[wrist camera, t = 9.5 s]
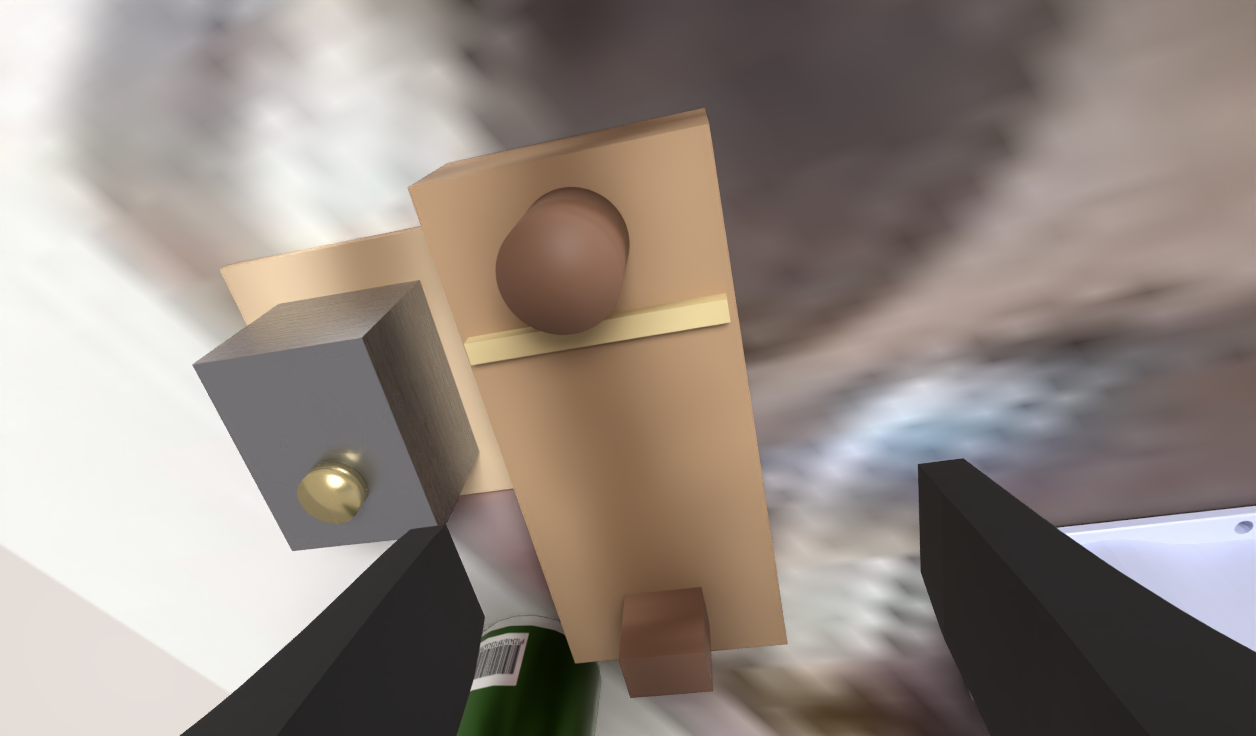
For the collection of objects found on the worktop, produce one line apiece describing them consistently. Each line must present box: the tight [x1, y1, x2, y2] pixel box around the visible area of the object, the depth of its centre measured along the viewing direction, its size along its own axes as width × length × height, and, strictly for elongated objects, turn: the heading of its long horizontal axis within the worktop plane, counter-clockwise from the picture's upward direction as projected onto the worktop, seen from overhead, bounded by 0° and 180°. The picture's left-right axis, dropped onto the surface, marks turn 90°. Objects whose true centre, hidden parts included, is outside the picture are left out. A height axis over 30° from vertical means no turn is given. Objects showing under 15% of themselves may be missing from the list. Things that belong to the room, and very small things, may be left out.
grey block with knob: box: [193, 280, 479, 551], centre depth 19 cm, size 4×6×5 cm
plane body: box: [408, 108, 787, 698], centre depth 19 cm, size 7×16×5 cm, turn 12°
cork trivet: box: [220, 226, 513, 495], centre depth 21 cm, size 7×9×1 cm
